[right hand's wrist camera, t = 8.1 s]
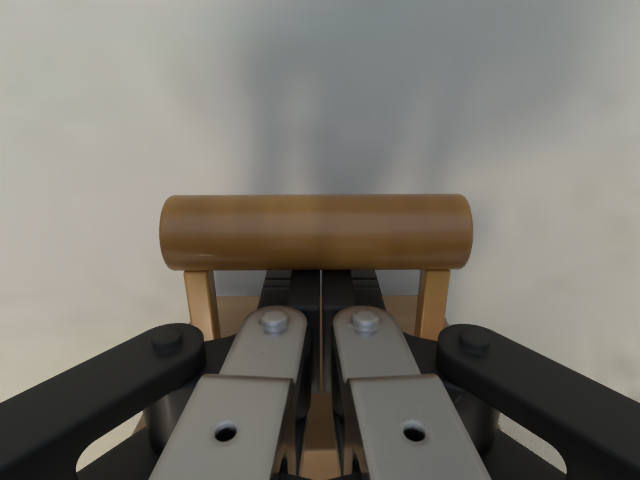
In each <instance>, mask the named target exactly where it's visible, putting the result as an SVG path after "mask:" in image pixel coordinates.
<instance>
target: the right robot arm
mask: <svg viewBox="0 0 640 480" xmlns="http://www.w3.org/2000/svg"><path fill="white" fill-rule="evenodd" d="M322 375H323V393H331V394H332V429H333V437H334V445H335V452H336V460H337V468H338V475H339V477H336V478H332V479H328V480H640V403H638V402H636V401H634V400H632V399H630V398H628V397H626V396H624V395H622V394H620V393H618V392H616V391H614V390H612V389H610V388H608V387H606V386H604V385H602V384H600V383H598V382H596V381H594V380H592V379H590V378H588V377H586V376H584V375H582V374H579V373H577V372H575V371H573V370H571V369H569V368H567V367H565V366H563V365H561V364H559V363H557V362H555V361H553V360H551V359H549V358H547V357H545V356H543V355H541V354H539V353H537V352H535V351H533V350H531V349H529V348H527V347H525V346H523V345H521V344H518V343H516V342H514V341H512V340H510V339H508V338H506V337H504V336H502V335H500V334H498V333H496V332H494V331H492V330H490V329H487V328H484V327H481V326H477V325H471V324H456V325H451V326H448V327H446V328H444V329H443V330H441V332H440V333H439V335H438V341H435V340H430V339H425V338H420V337H416V336H412V335H409V334H407V333H405V332H403V331H401V328H400V326H399V324H398V322H397V320H396V318H395V317H394V316H393V315H392V314H390V313H389V312H387V311H386V308H385V305H384V301H383V298H382V294H381V291H380V288H379V283H378V280H377V276H376V273H375V270H322ZM311 393H320V270H267V274H266V277H265V281H264V285H263V289H262V292H261V296H260V300H259V303H258V307H257V310H255V311H253V312H251V313H250V314H248V315H247V316H246V317H245V318H244V320H243V322H242V324H241V326H240V328H239V331H238V333H236V334H234V335H231V336H228V337H224V338H219V339H214V340H209V341H204V336H203V333H202V331H201V330H200V329H199V328H197V327H195V326H193V325H190V324H184V323H173V324H166V325H162V326H158V327H155V328H153V329H150V330H148V331H146V332H144V333H142V334H140V335H138V336H136V337H134V338H132V339H130V340H128V341H126V342H124V343H122V344H119V345H117V346H115V347H113V348H111V349H109V350H107V351H105V352H103V353H101V354H99V355H97V356H95V357H93V358H91V359H89V360H87V361H85V362H83V363H81V364H79V365H77V366H75V367H73V368H71V369H69V370H67V371H65V372H63V373H61V374H59V375H56V376H54V377H52V378H50V379H48V380H46V381H44V382H42V383H40V384H38V385H36V386H34V387H32V388H30V389H28V390H26V391H24V392H22V393H20V394H18V395H16V396H14V397H12V398H10V399H8V400H6V401H4V402H2V403H0V480H312V479H308V478H304V477H301V475H302V467H303V460H304V452H305V444H306V437H307V429H308V411H309V409H310V407H311ZM142 410H143V415H144V420H145V424H146V426H145V427H144V428H142V429H141V430H139V431H138V432H136V433H135V434H133V435H132V436H130V437H129V438H127V439H126V440H124V441H123V442H121V443H120V444H118V445H117V446H116V447H114V448H113V449H111V450H110V451H108V452H107V453H105V454H104V455H102V456H101V457H99V458H98V459H96V460H95V461H93V462H92V463H90V464H89V465H87V466H86V467H84V468H83V469H81V470H80V471H78V472H77V473H76V464H77V461H78V459H79V457H80V455H81V454H82V453H83V451H84V450H85V449H86V448H87V447H88V446H89V445H90V444H91V443H93V442H94V441H95V440H97V439H98V438H100V437H102V436H103V435H105V434H106V433H108V432H109V431H111V430H112V429H114V428H116V427H117V426H119V425H120V424H122V423H123V422H125V421H127V420H128V419H130V418H131V417H133V416H134V415H136V414H138V413H139V412H141V411H142ZM500 412H501V413H502V414H504V415H506V416H507V417H509V418H510V419H512V420H513V421H515V422H517V423H518V424H520V425H521V426H523V427H524V428H526V429H528V430H529V431H531V432H532V433H534V434H535V435H537V436H538V437H540V438H542V439H543V440H545V441H546V442H548V443H549V444H551V445H552V446H553V447H554V448H555V449H556V450H557V451H558V452H559V453H560V455H561V456H562V458H563V460H564V462H565V464H566V468H567V474H565V473H563V472H562V471H560V470H559V469H557V468H556V467H554V466H553V465H551V464H550V463H548V462H547V461H545V460H544V459H542V458H541V457H539V456H538V455H536V454H535V453H533V452H532V451H530V450H529V449H527V448H526V447H524V446H523V445H522V444H520V443H519V442H517V441H516V440H514V439H513V438H511V437H510V436H508V435H507V434H505V433H504V432H502V431H501V430H499V429H498V428H497V425H498V421H499V416H500Z"/></svg>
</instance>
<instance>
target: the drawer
mask: <svg viewBox="0 0 640 480" xmlns="http://www.w3.org/2000/svg"><path fill="white" fill-rule="evenodd" d="M159 238H160V247H161V252H162V256H163V259H164V261H165V263H166V265H167V266H168V267H169V268H170V269H172V270H174V271H184V280H185V286H186V293H187V300H188V306H189V313H190V320H191V321H190V323H189V324H190V325H193V326H195V327H197V328H199V329H200V330H201V331H202V333H203V336H204V341H209V340H214V339H219V338H224V337H228V336H231V335H234V334H236V333H238V331H239V328H240V326H241V324H242V322H243V320H244V318H245V317H246V316H247V315H248V314H250V313H251V312H253V311H255V310H257V307H258V303H259V300H260V296H216V290H215V281H214V273H213V270H420V279H419V289H418V296H382V298H383V301H384V305H385V308H386V311H387V312H389V313H390V314H392V315H393V316H394V317H395V318H396V320H397V322H398V324H399V326H400V328H401V331H403V332H405V333H407V334H409V335H412V336H416V337H420V338H425V339H430V340H435V341H438V335H439V333H440V332H441V330H443V329H444V328H446V327H448V326H449V325H448V323H447V321H446V319H445V317H444V316H445V309H446V301H447V293H448V286H449V278H450V270H449V269H461V268H463V267H464V266H465V265H466V263H467V262H468V259H469V257H470V253H471V248H472V241H473V222H472V215H471V210H470V206H469V204H468V201H467V200H466V198H465V197H464V196H463V195H460V194H350V195H174V196H171V197H169V198H168V199H167V200H166V202H165V203H164V206H163V209H162V212H161V217H160V226H159ZM145 426H146V424H145V420H144V415H142V417H141V419H140V420H139V422H138V424H137V426H136V428H135V430H134V432H133V434H135V433H136V432H138V431H139V430H141V429H142V428H144V427H145ZM497 428H498V429H499V430H501V428H500V426H499V424H498V425H497ZM501 431H502V430H501ZM133 434H132V435H133ZM301 477H304V478H308V479H312V480H328V479H332V478H336V477H339V475H338V468H337V460H336V452H335V445H334V437H333V429H332V394H331V393H323V375H322V296H320V393H311V407H310V409H309V411H308V429H307V437H306V444H305V452H304V460H303V467H302V475H301Z"/></svg>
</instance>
